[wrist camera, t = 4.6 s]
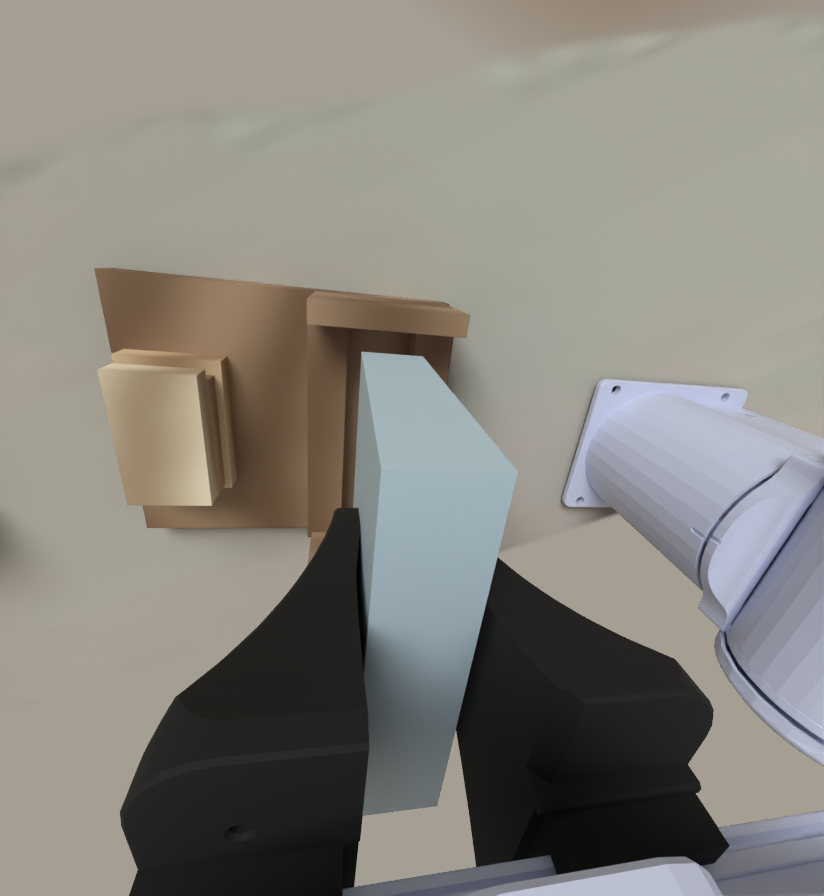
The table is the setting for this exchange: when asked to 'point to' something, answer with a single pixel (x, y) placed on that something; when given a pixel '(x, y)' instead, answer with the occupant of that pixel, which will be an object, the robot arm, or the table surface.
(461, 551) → the tall sheet
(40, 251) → the table surface
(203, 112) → the table surface
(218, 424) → the offcut stack
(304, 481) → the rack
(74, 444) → the table surface
